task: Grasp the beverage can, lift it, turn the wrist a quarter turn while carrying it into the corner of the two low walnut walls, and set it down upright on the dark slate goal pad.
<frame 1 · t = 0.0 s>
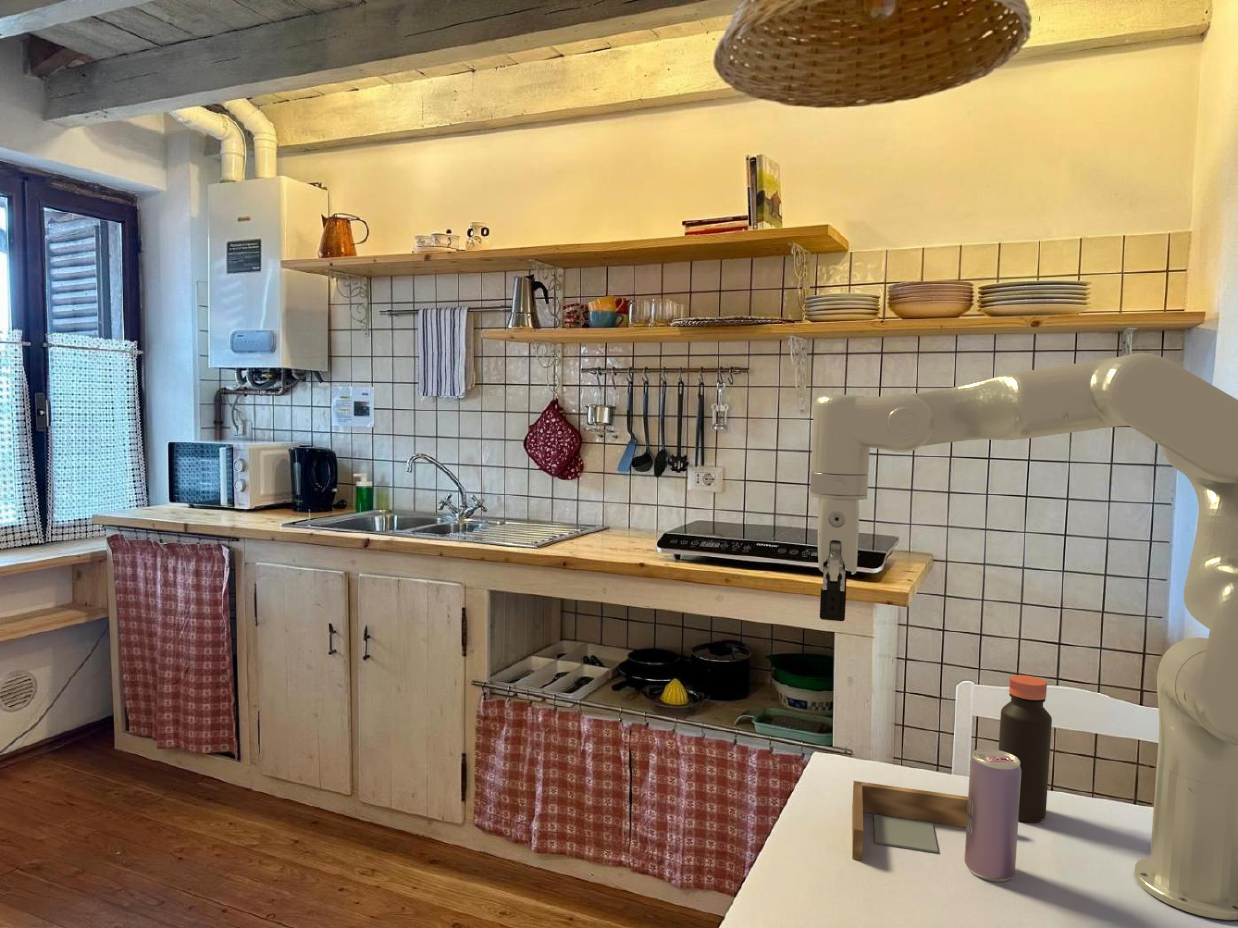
hand: (832, 611, 115), 31 cm above the table, fingers open, 9 cm apart
goal pad: (904, 833, 117), on the table
beverage can: (989, 872, 109), on the table
bottle: (1019, 813, 125), on the table
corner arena: (928, 842, 115), on the table
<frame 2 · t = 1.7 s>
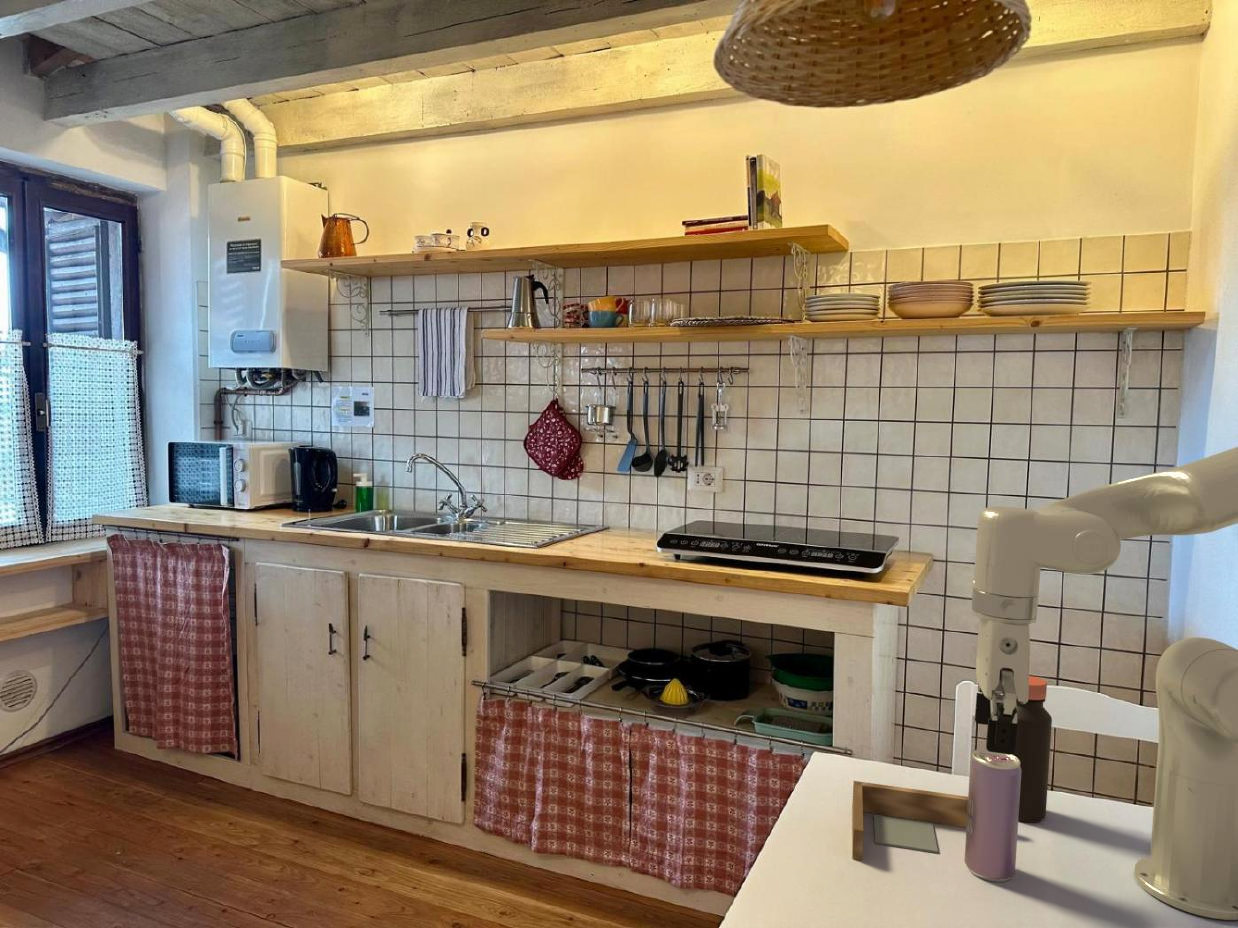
hand: (993, 737, 108), 18 cm above the table, fingers open, 9 cm apart
nothing on the table moved.
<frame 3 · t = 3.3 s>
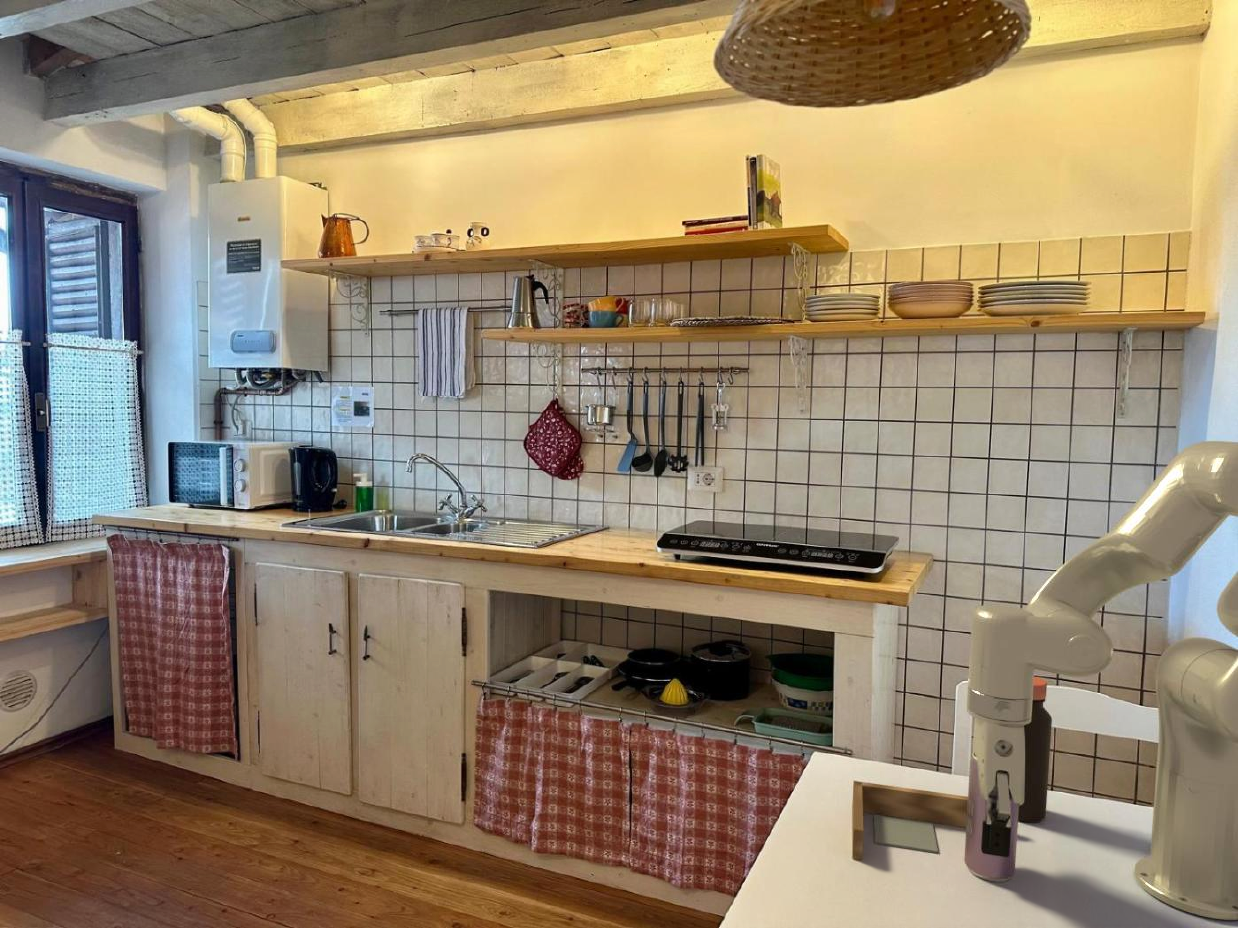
hand: (990, 839, 108), 4 cm above the table, fingers closed on beverage can, 6 cm apart
beverage can: (988, 872, 109), on the table, touching gripper
everything else where it was.
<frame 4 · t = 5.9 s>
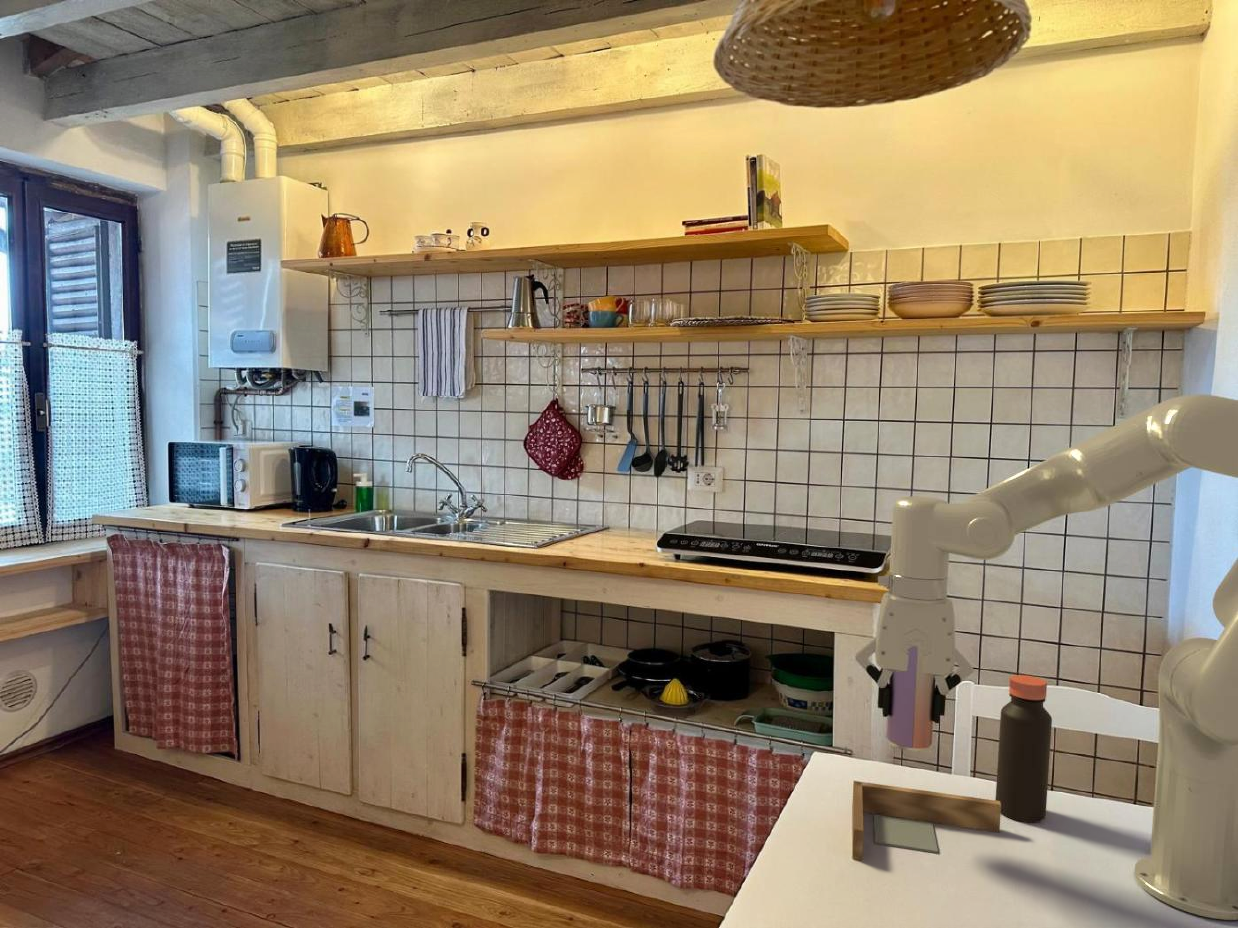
hand: (910, 715, 116), 17 cm above the table, fingers closed on beverage can, 5 cm apart
beverage can: (908, 745, 117), point 13 cm above the table, touching gripper
everything else where it was.
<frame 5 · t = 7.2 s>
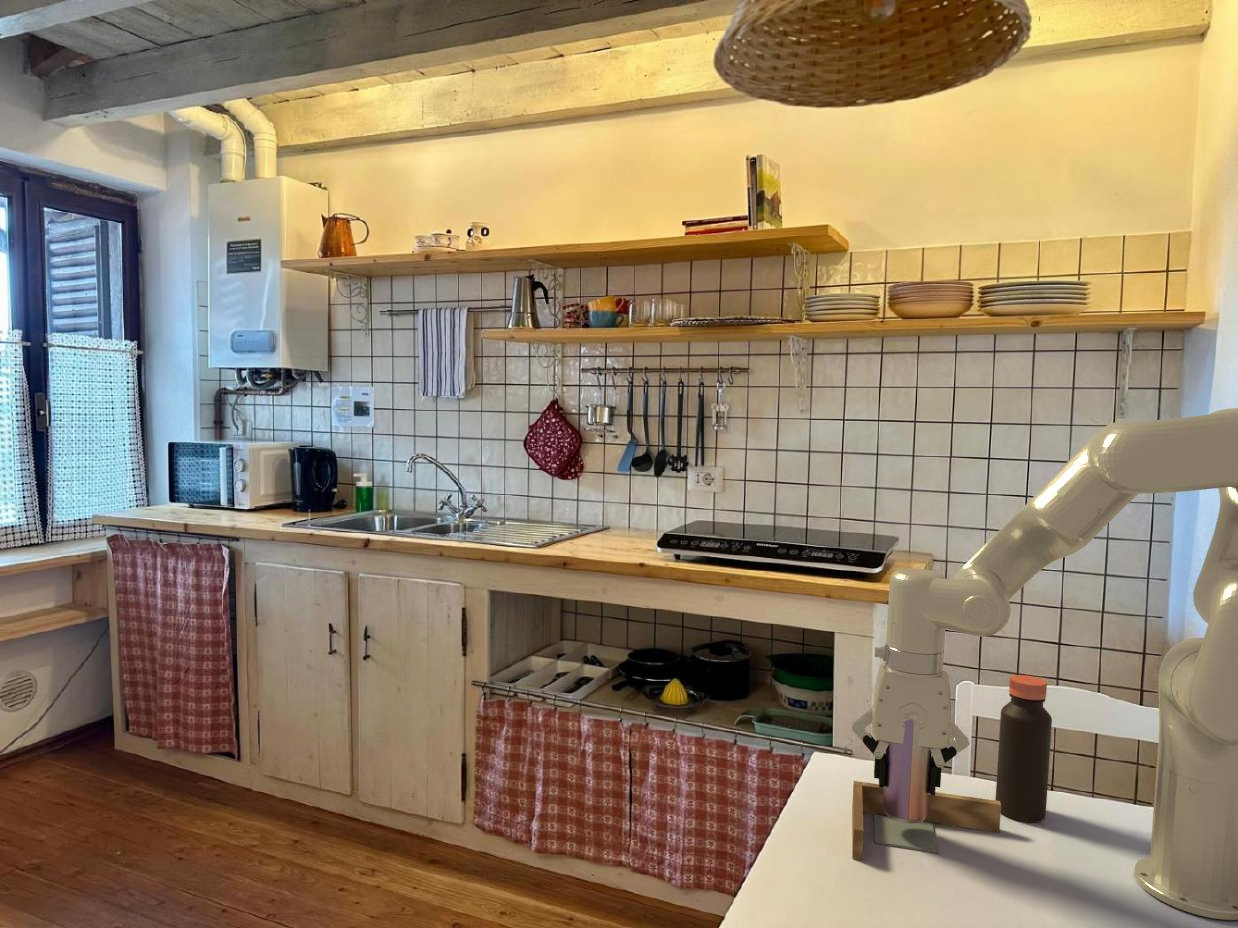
hand: (906, 785, 117), 7 cm above the table, fingers closed on beverage can, 5 cm apart
beverage can: (904, 815, 117), point 3 cm above the table, touching gripper
everything else where it was.
when the fingers open (6 cm above the table, at t = 8.3 s): beverage can drops 1 cm, resting on goal pad.
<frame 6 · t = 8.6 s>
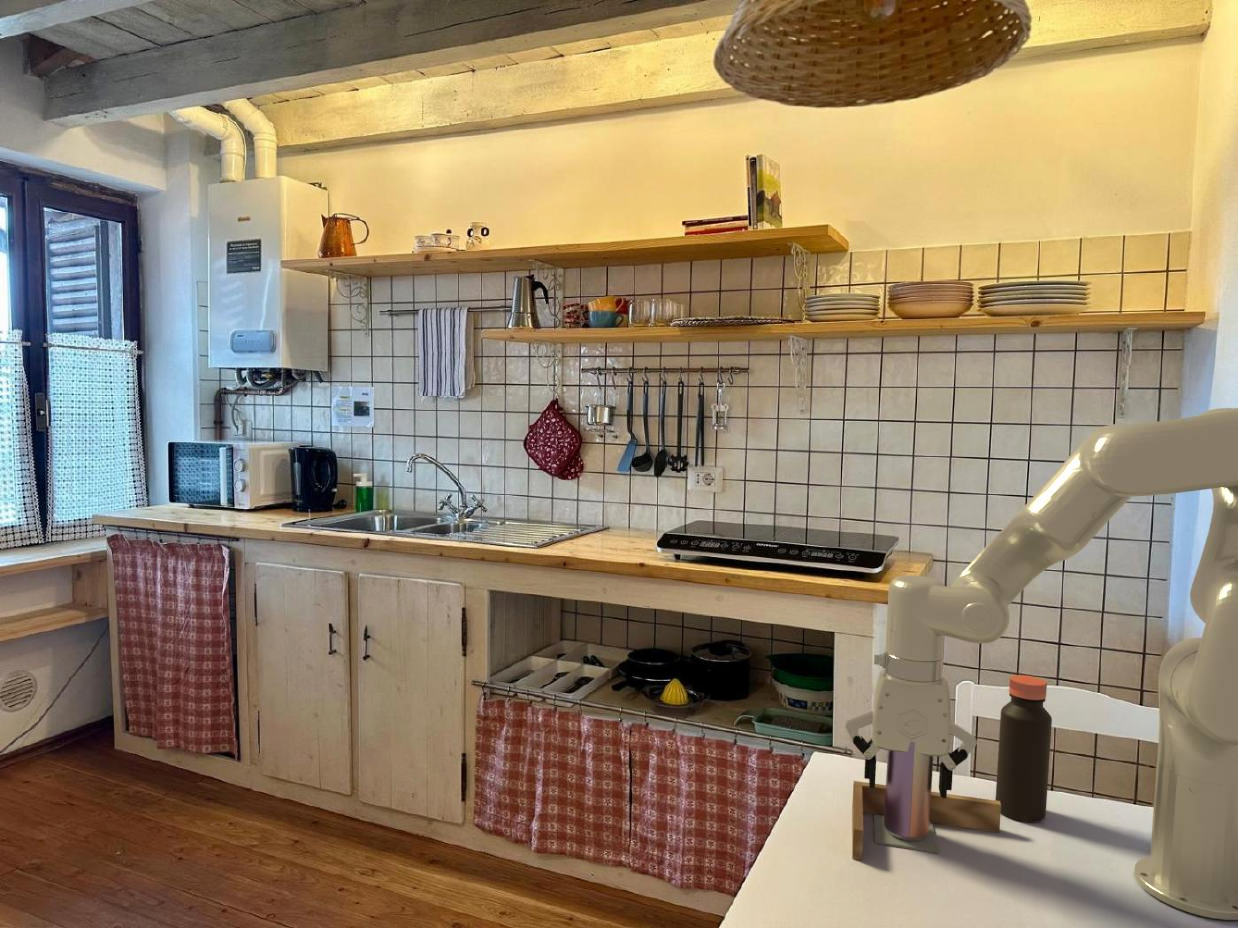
hand: (906, 788, 117), 6 cm above the table, fingers open, 9 cm apart
beverage can: (905, 833, 117), resting on goal pad
everything else where it was.
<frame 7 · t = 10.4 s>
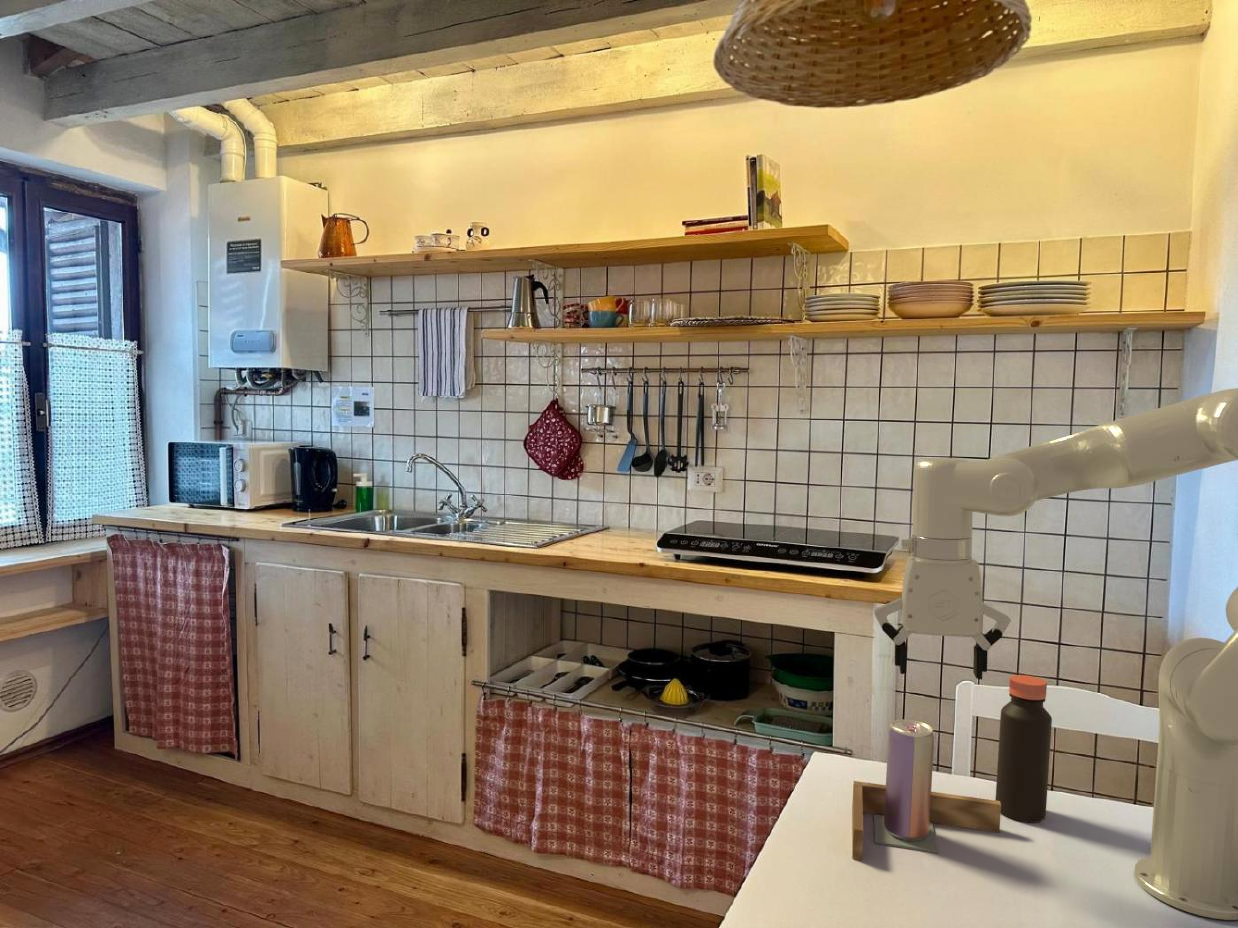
hand: (939, 673, 115), 23 cm above the table, fingers open, 9 cm apart
nothing on the table moved.
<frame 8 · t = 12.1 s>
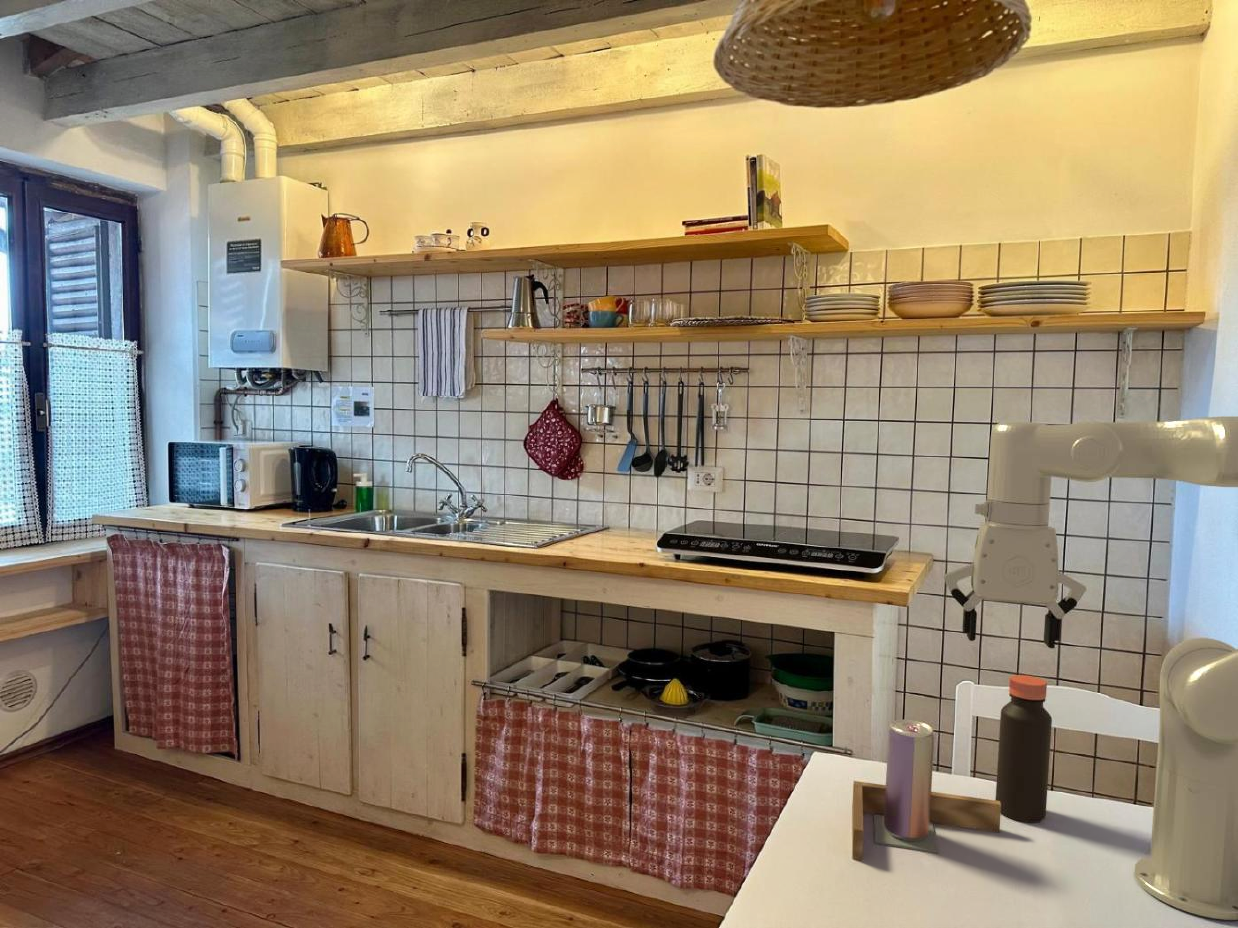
hand: (1009, 641, 113), 28 cm above the table, fingers open, 9 cm apart
nothing on the table moved.
at the end: beverage can inside the target area on the goal pad (0.2 cm from its centre), point 0.1 cm above the goal pad's base; beverage can tilted 0°; the gripper is holding nothing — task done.
